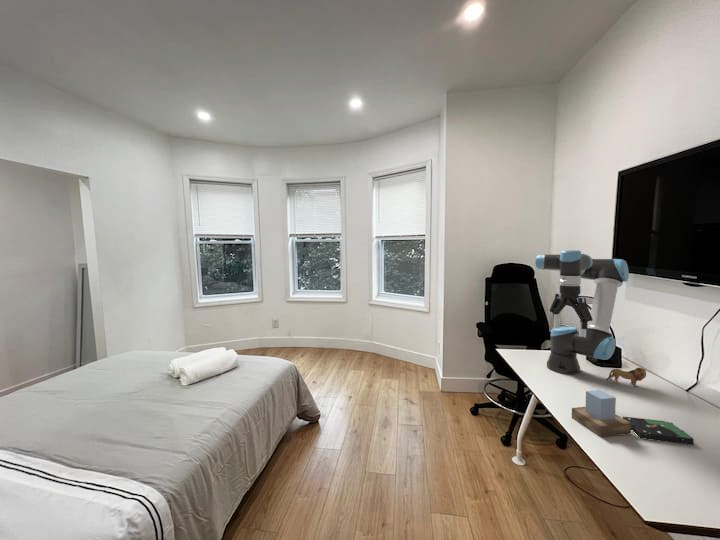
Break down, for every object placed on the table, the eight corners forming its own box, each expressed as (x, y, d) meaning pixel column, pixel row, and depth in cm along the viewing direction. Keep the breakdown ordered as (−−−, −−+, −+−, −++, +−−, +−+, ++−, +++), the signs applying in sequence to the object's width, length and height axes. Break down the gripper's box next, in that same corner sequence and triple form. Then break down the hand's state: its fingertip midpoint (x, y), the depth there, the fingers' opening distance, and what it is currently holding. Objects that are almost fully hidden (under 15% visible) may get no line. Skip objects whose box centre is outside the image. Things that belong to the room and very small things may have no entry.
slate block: (585, 411, 110) (585, 391, 109) (599, 410, 111) (600, 389, 110) (600, 420, 104) (601, 399, 103) (615, 418, 105) (615, 397, 104)
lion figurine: (643, 385, 138) (644, 366, 137) (647, 389, 133) (648, 370, 133) (604, 378, 145) (604, 361, 145) (606, 383, 141) (607, 365, 140)
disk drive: (639, 440, 100) (694, 446, 96) (640, 432, 99) (694, 438, 95) (621, 423, 110) (670, 428, 106) (621, 416, 109) (670, 420, 105)
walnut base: (571, 417, 113) (571, 407, 112) (599, 415, 114) (599, 405, 114) (600, 437, 101) (600, 426, 101) (630, 433, 102) (631, 423, 102)
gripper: (541, 282, 140) (540, 325, 141) (587, 288, 115) (586, 340, 117) (555, 281, 141) (554, 324, 142) (604, 288, 116) (603, 339, 117)
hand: (569, 331), depth 129 cm, fingers open, 13 cm apart
